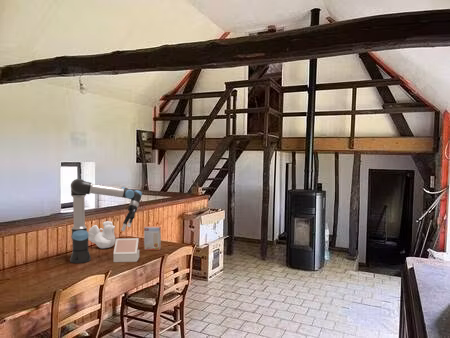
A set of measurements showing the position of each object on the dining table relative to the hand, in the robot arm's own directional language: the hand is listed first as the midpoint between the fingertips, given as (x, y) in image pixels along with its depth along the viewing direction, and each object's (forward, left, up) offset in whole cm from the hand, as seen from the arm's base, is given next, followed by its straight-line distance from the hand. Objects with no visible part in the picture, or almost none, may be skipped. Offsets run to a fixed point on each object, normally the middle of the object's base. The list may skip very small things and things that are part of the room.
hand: (125, 228), depth 293 cm
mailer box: (-4, -11, -23) cm, 25 cm away
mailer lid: (-5, -12, -12) cm, 18 cm away
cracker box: (+28, +5, -23) cm, 37 cm away
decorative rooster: (-4, +42, -23) cm, 48 cm away
